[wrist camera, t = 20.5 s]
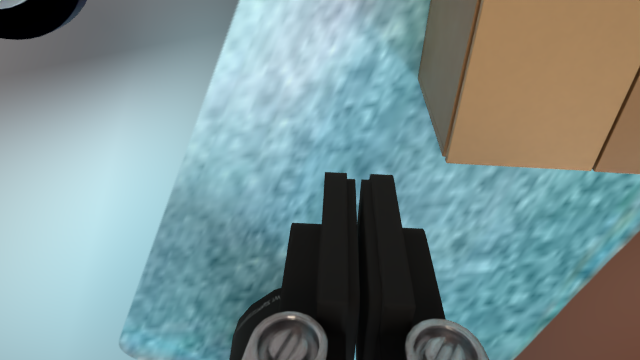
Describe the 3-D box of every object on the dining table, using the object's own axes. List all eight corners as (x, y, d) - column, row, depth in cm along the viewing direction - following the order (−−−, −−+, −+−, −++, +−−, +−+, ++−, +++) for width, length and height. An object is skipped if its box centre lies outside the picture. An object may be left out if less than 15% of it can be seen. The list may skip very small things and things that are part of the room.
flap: (445, 159, 25) (446, 163, 25) (517, -159, 17) (520, -160, 17) (588, 167, 25) (591, 171, 25) (734, -154, 17) (742, -154, 16)
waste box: (417, 79, 36) (444, 164, 25) (454, -144, 28) (518, -162, 17) (624, 89, 35) (744, 181, 24) (727, -136, 27) (983, -150, 16)
